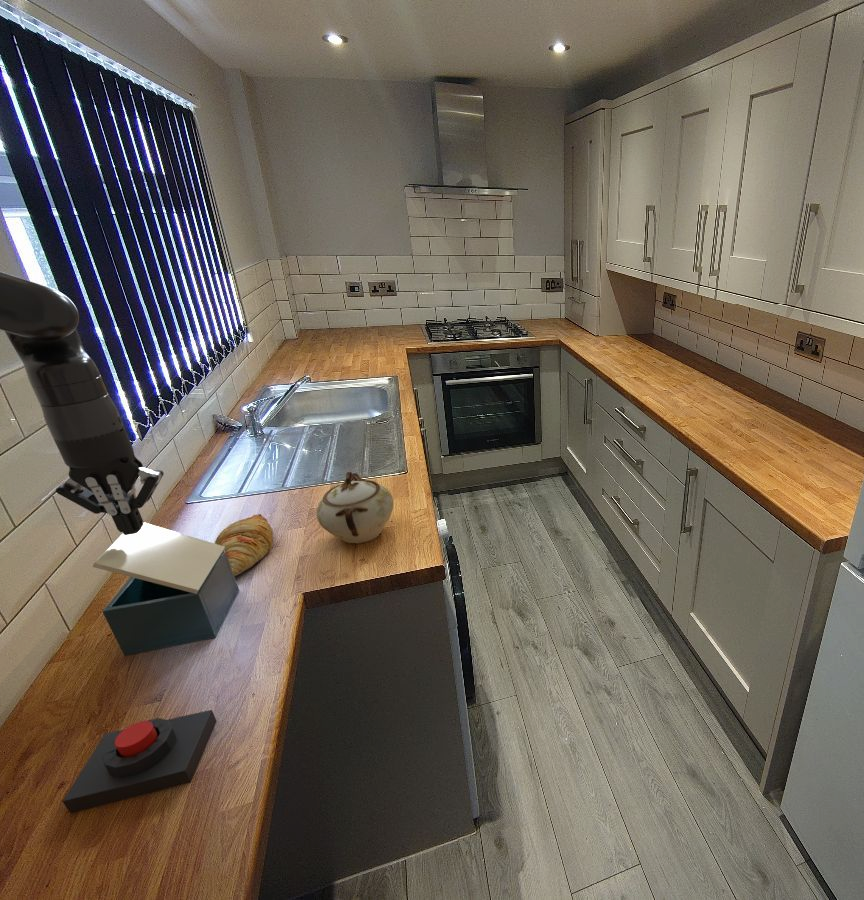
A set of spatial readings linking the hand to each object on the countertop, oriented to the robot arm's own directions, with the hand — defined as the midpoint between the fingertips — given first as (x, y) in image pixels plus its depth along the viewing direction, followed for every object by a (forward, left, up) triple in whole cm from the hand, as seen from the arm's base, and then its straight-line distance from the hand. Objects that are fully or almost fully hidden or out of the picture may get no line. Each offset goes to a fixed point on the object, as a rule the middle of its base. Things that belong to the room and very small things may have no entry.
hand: (133, 531), depth 82 cm
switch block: (+8, -29, -18) cm, 35 cm away
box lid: (+2, 0, -5) cm, 6 cm away
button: (+8, -29, -15) cm, 33 cm away
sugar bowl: (+28, +20, -18) cm, 39 cm away
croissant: (+6, +20, -18) cm, 28 cm away
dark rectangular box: (+2, 0, -18) cm, 18 cm away
